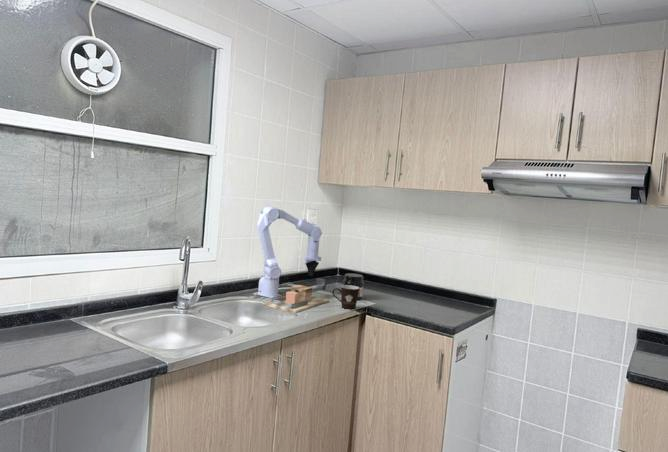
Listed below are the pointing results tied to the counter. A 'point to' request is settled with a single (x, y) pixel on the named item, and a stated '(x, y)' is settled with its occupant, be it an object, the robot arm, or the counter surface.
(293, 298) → the block
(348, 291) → the coffee mug
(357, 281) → the supplement container
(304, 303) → the stand
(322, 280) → the shaft
